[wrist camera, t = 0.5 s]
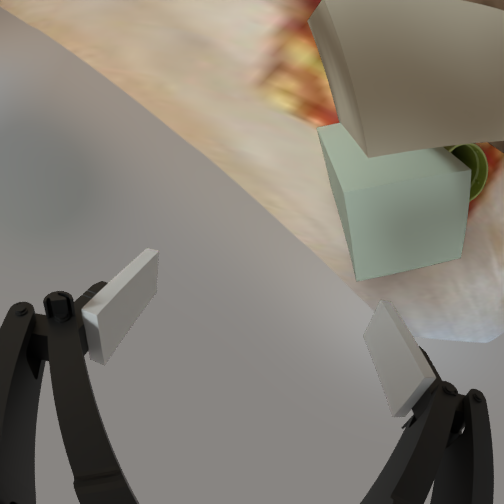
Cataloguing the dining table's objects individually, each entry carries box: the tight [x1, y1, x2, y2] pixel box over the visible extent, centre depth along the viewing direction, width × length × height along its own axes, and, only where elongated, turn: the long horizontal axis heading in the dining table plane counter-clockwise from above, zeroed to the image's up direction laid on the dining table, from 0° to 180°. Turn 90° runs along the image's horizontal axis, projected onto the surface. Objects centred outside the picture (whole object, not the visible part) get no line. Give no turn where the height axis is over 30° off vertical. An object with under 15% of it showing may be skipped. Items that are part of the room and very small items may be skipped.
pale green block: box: [317, 123, 471, 282], centre depth 29 cm, size 10×12×20 cm
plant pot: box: [444, 143, 488, 202], centre depth 31 cm, size 9×9×9 cm
